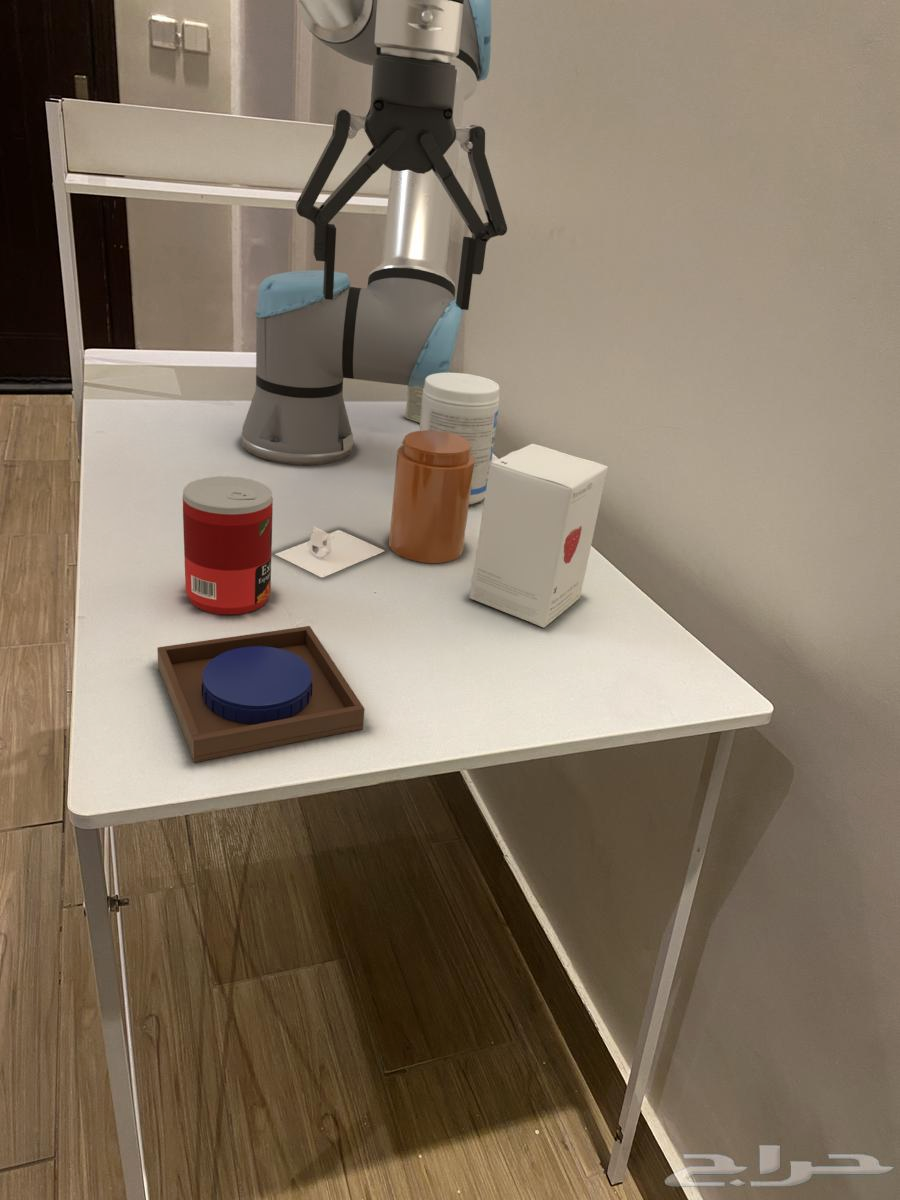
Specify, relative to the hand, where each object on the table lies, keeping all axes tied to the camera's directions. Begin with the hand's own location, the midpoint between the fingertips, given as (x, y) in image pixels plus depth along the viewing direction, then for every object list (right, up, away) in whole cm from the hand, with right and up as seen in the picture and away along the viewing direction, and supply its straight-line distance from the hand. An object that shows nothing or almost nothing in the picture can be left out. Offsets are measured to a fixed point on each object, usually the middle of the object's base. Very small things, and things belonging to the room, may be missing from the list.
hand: (396, 302), depth 91 cm
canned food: (-16, -30, -3) cm, 34 cm away
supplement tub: (+5, -16, +27) cm, 32 cm away
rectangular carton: (+13, -30, +3) cm, 33 cm away
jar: (+3, -24, +12) cm, 27 cm away
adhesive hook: (-8, -25, +8) cm, 27 cm away
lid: (-10, -36, -18) cm, 42 cm away
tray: (-10, -38, -17) cm, 43 cm away
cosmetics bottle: (+1, -1, +54) cm, 54 cm away
